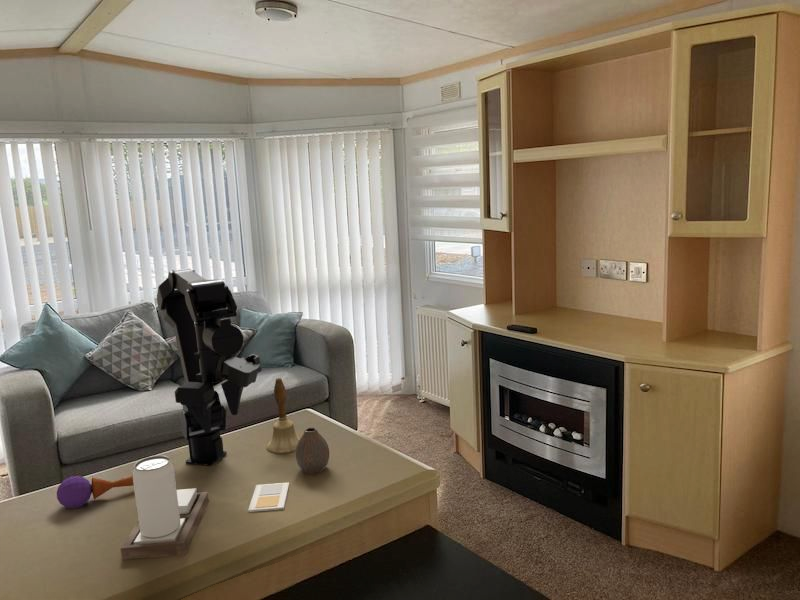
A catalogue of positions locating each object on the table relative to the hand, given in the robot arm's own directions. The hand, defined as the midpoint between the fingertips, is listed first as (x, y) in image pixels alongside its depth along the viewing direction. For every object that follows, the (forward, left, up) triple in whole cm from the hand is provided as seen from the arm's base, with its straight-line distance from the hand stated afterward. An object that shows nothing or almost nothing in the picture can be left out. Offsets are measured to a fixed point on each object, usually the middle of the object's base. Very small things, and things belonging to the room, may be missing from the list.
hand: (221, 423), depth 127 cm
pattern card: (+11, -3, -13) cm, 17 cm away
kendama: (-20, -8, -14) cm, 26 cm away
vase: (+14, +10, -13) cm, 22 cm away
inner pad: (-3, -13, -11) cm, 17 cm away
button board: (-1, -17, -13) cm, 21 cm away
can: (0, -21, -11) cm, 24 cm away
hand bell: (+2, +20, -13) cm, 24 cm away
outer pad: (+1, -21, -12) cm, 24 cm away
